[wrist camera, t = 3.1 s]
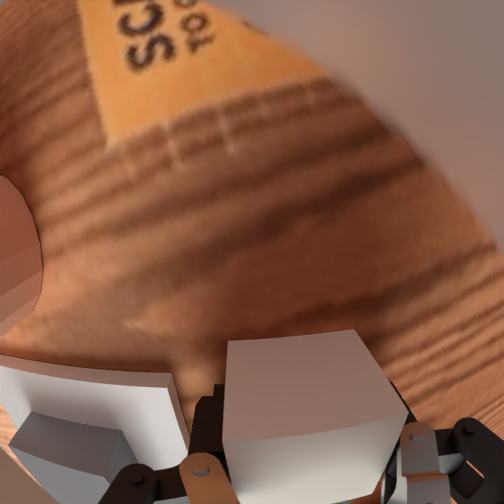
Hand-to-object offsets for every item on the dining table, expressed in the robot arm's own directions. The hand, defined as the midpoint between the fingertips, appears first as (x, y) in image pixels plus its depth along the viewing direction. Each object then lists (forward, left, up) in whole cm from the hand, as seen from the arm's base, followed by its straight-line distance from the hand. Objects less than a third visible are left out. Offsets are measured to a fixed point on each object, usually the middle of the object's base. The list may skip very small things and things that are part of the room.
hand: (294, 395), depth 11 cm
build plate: (+11, +5, -1) cm, 12 cm away
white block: (0, 0, -1) cm, 1 cm away
